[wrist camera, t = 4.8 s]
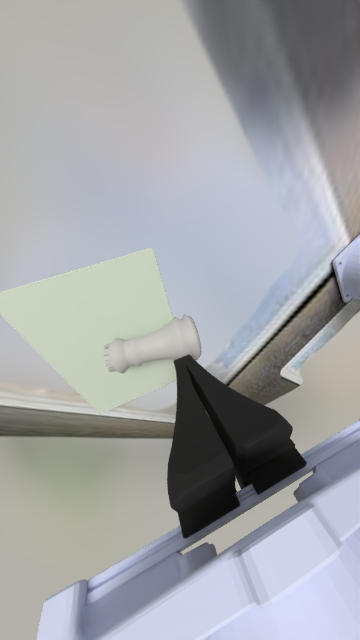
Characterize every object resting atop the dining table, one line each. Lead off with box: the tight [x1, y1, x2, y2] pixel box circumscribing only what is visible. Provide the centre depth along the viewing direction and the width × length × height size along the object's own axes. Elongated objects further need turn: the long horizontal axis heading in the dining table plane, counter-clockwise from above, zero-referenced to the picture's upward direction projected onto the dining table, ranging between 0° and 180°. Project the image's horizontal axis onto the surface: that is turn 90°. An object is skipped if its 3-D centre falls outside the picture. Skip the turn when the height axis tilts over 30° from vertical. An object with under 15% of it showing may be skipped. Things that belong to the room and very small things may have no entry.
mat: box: [0, 248, 177, 414], centre depth 16 cm, size 12×16×1 cm
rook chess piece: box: [103, 315, 201, 374], centre depth 15 cm, size 4×4×8 cm
